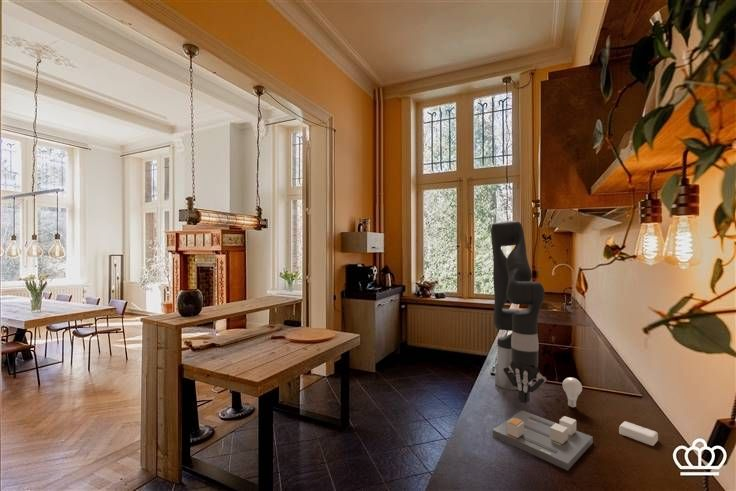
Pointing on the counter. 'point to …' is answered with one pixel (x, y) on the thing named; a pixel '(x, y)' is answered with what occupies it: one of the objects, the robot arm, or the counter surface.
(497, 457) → the counter surface
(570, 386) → the lightbulb
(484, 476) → the counter surface
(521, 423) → the block
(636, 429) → the soap
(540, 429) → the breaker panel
